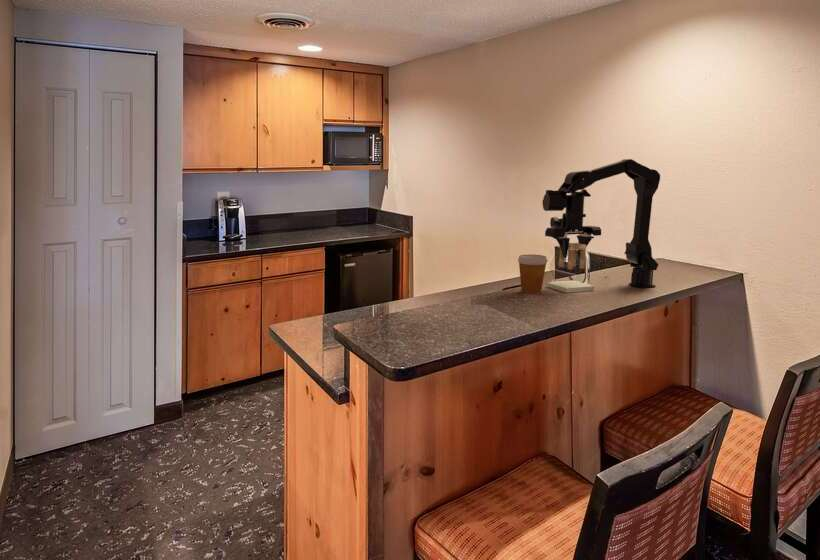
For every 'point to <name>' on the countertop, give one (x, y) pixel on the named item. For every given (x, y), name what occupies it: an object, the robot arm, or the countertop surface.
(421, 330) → the countertop surface
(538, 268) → the disposable coffee cup
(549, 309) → the countertop surface
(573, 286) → the sage board
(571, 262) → the maple stool
